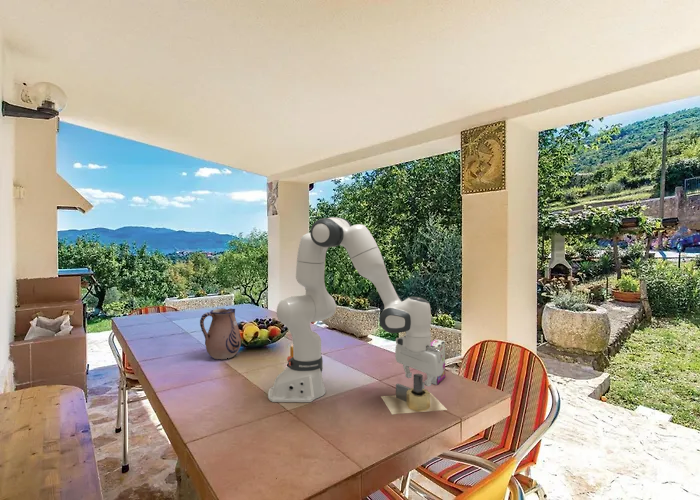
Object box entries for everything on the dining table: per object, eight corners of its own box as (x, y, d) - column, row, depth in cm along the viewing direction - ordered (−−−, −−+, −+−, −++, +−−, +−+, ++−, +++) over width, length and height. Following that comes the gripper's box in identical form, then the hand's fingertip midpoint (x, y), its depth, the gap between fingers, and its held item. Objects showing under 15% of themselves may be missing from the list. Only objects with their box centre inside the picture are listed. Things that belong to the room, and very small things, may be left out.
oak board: (392, 418, 124) (392, 414, 124) (380, 400, 139) (380, 396, 139) (447, 414, 128) (447, 409, 128) (430, 396, 142) (430, 392, 142)
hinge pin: (416, 408, 128) (416, 377, 128) (411, 405, 131) (411, 374, 131) (424, 407, 130) (424, 376, 130) (419, 403, 133) (419, 373, 133)
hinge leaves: (406, 412, 126) (406, 397, 126) (395, 396, 139) (395, 383, 138) (437, 409, 128) (437, 395, 128) (423, 394, 140) (423, 381, 140)
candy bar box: (434, 375, 166) (434, 339, 166) (445, 377, 163) (445, 340, 163) (426, 383, 156) (426, 344, 156) (437, 385, 154) (437, 346, 153)
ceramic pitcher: (248, 355, 195) (247, 308, 195) (214, 366, 178) (214, 315, 177) (226, 350, 205) (226, 306, 205) (192, 360, 187) (192, 311, 187)
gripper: (447, 348, 124) (446, 388, 124) (404, 335, 140) (404, 371, 141) (434, 351, 120) (434, 393, 120) (392, 338, 137) (392, 374, 137)
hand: (417, 381), depth 131 cm, fingers open, 8 cm apart
